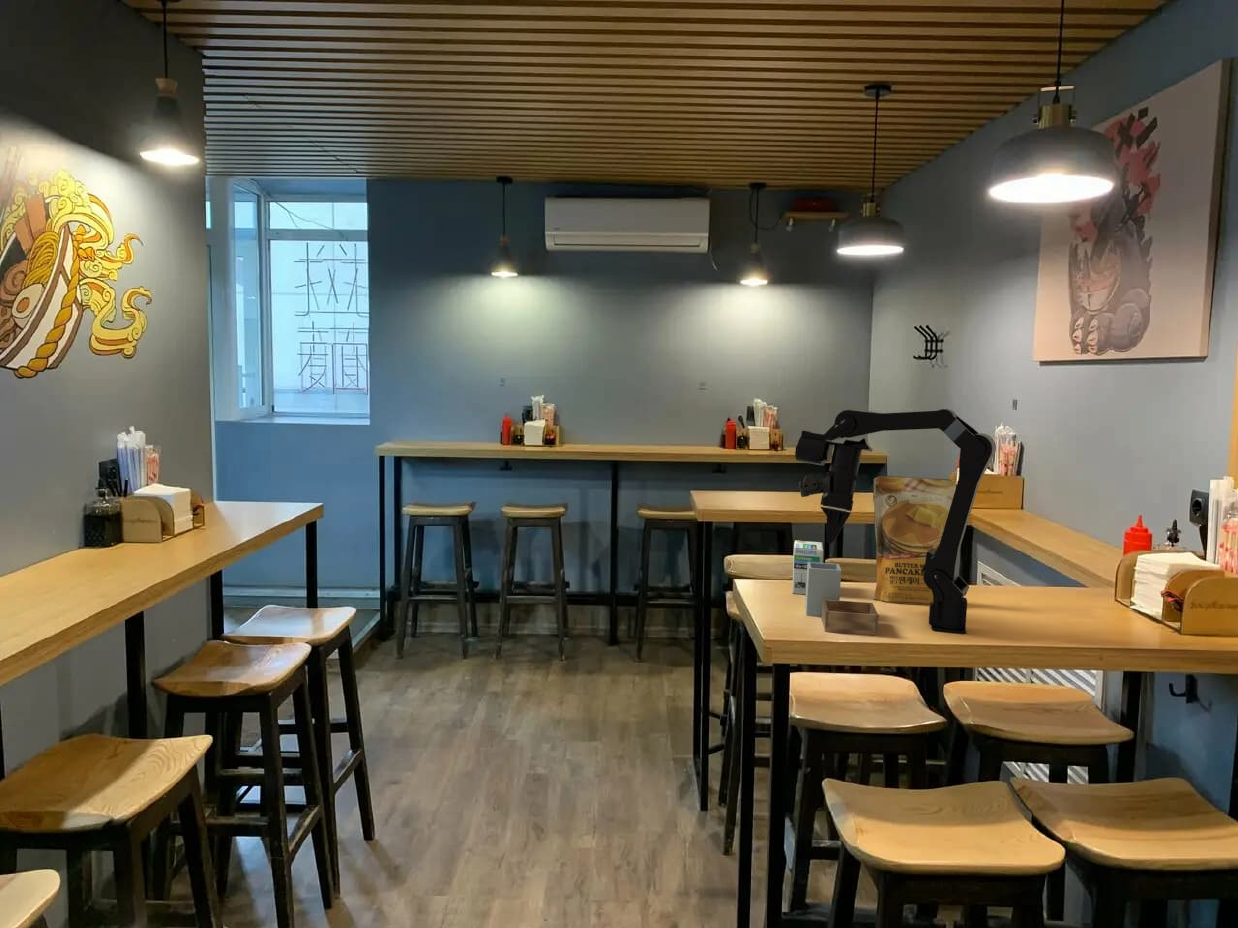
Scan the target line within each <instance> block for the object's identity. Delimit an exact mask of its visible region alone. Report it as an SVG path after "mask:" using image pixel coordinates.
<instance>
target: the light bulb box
mask: <svg viewBox="0 0 1238 928" xmlns="http://www.w3.org/2000/svg"><path fill="white" fill-rule="evenodd" d="M823 546H824V545H823V542H821V541H820V542H819V541H808V540H807V541H806V540H805V541H804V540H798V539H797V540H794V543H793V558H792V563H793V565H792V591H791V592H792V594H794V595H795V594H797V595H806V581H807V563H808V562H813V563H824V548H823Z"/></svg>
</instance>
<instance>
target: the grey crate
mask: <svg viewBox="0 0 1238 928" xmlns="http://www.w3.org/2000/svg"><path fill="white" fill-rule="evenodd" d="M841 582H842V569H841V566H840V564H839V563H826V562H823V563H813V562H808V563H807V581H806V594H805V599H804V600H805V601H804V602H805V603H804V608H805V609H804V610H805V615H806V617H819V618H820V617H821V618H822V603H823V599H825V600H839V601H841V600H840V599H841V598H840V597H841V585H842V584H841Z"/></svg>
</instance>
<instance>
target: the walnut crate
mask: <svg viewBox="0 0 1238 928" xmlns="http://www.w3.org/2000/svg"><path fill="white" fill-rule="evenodd" d="M821 621H822V625H823V630H824V633H825V632H826V633H837V634H838V633H840V634H851V635H853V634H854V635H867V636H876V637H877V636H878V633H879V631H878V630H879V613H878V611H877V609H876V607H875V605H874V603H873V602H865V601H852V600H840V601H839V600H825V599H823V603H822V617H821Z"/></svg>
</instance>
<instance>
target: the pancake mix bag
mask: <svg viewBox="0 0 1238 928" xmlns="http://www.w3.org/2000/svg"><path fill="white" fill-rule="evenodd" d="M872 481H873V484H872V485H873V487H872V489H873V490H872V491H873V492H872V493H873V495H872V497H873V498H872V500H873V506H874V507H873V514H874V516H873V517H874V533H875V534H874V535H875V543H876V559H875V563H876V564H875V565H876V572H877V573H876V576H877V577H876V587H875V590H874V594H873V597H872V599H873V600H875V601H881V602H884V603H891V604H902V605H903V604H905V605H923V606H930V602H933V593H932V590H931V589H930V588H928V587H927V585H926V584H925V582H924V579H923V576H924V572H925V571H923V572H921V570H922V569H923V567H924V565H925V562H926V554H927V552H928V551H929V550H930V549H931V548H934V549H937V548H938V546H939V544H940V541H941V537H942V534H943V531H944V527H945V524H946V520H947V517H948V513H949V510H950V507H951V503H952V500H953V496H954V493H955V489H956V486H957V483H953V479H948V478H927V477H919V476H918V477H917V476H907V475H906V476H904V475H903V476H901V475H879V476H877V477H875V478H873V480H872Z"/></svg>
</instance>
